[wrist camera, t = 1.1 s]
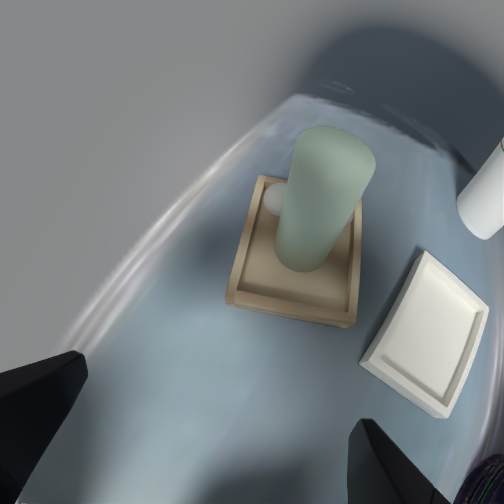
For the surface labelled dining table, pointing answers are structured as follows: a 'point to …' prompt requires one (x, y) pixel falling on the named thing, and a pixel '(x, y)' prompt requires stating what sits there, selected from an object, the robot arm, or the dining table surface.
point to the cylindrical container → (485, 197)
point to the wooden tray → (292, 282)
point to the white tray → (428, 338)
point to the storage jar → (484, 483)
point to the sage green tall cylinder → (320, 194)
